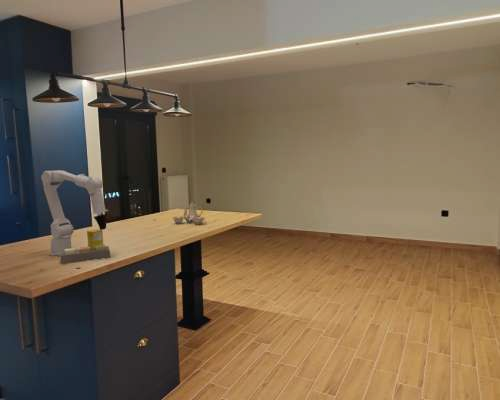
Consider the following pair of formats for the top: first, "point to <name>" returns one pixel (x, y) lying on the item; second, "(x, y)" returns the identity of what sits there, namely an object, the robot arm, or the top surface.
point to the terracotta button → (85, 249)
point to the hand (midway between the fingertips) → (103, 229)
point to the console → (84, 255)
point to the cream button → (69, 251)
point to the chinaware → (190, 216)
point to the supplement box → (95, 238)
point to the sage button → (100, 247)
